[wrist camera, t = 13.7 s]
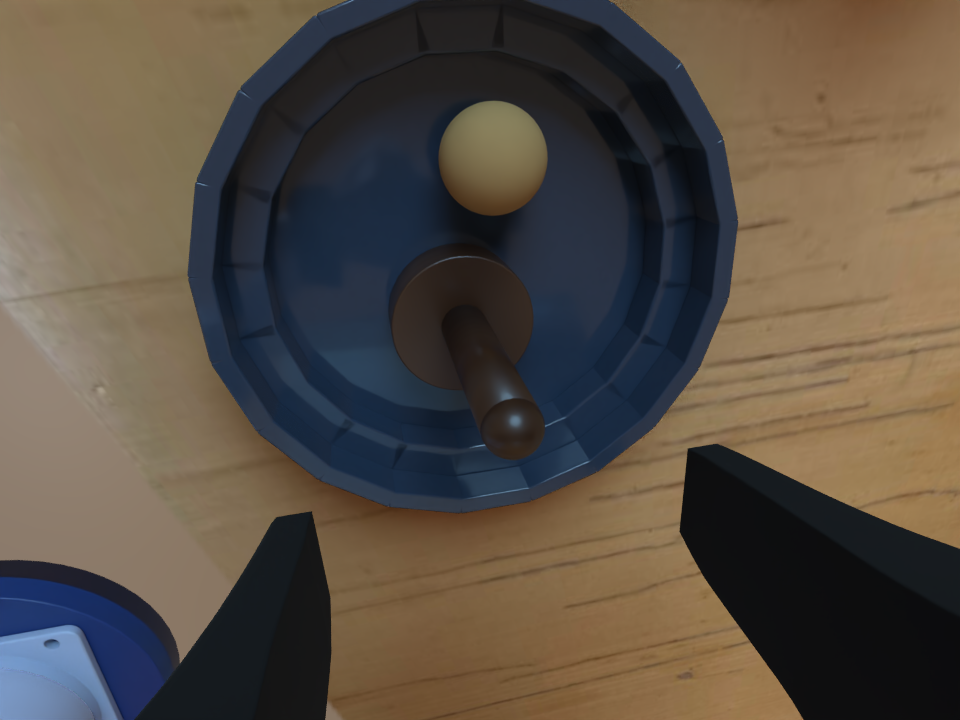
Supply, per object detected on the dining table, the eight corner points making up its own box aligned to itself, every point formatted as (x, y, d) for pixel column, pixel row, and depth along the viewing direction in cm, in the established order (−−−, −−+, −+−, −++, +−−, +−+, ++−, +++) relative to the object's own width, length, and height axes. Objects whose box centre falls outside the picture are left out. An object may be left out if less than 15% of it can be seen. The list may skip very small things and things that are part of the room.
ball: (442, 214, 19) (433, 215, 16) (442, 109, 18) (433, 90, 15) (540, 216, 19) (550, 216, 16) (544, 110, 18) (555, 91, 15)
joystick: (408, 384, 21) (441, 555, 13) (371, 262, 19) (386, 379, 11) (531, 351, 21) (631, 497, 14) (508, 227, 19) (610, 318, 12)
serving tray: (271, 488, 22) (259, 548, 19) (152, 1, 16) (107, -19, 13) (665, 426, 24) (708, 471, 21) (703, -21, 18) (771, -42, 15)
